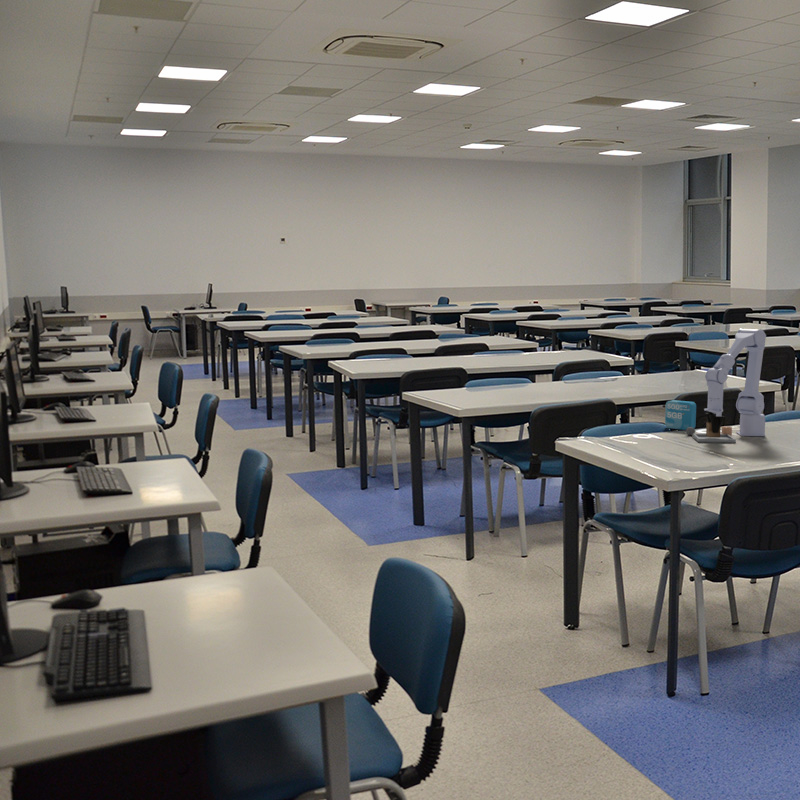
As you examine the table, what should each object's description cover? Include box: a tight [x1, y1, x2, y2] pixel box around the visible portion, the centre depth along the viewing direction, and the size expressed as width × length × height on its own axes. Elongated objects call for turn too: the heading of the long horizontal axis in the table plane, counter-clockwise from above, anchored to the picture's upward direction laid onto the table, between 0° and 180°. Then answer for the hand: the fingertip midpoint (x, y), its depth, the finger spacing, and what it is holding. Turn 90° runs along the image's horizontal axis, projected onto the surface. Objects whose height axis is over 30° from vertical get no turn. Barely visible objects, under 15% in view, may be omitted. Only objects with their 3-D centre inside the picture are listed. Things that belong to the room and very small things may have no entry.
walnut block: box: [705, 421, 722, 437], centre depth 333 cm, size 4×4×6 cm
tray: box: [692, 433, 737, 444], centre depth 334 cm, size 14×12×2 cm
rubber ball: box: [685, 427, 696, 436], centre depth 346 cm, size 4×4×4 cm
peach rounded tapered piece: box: [720, 425, 733, 437], centre depth 342 cm, size 4×4×4 cm
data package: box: [664, 399, 697, 431], centre depth 362 cm, size 12×4×12 cm, turn 46°
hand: (714, 431), depth 333 cm, fingers closed on walnut block, 4 cm apart
